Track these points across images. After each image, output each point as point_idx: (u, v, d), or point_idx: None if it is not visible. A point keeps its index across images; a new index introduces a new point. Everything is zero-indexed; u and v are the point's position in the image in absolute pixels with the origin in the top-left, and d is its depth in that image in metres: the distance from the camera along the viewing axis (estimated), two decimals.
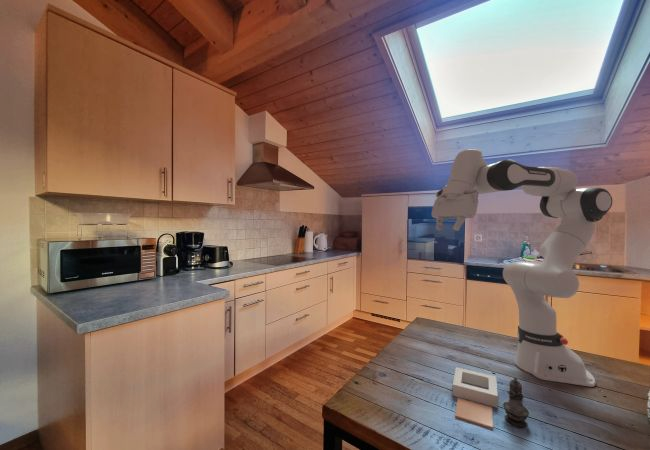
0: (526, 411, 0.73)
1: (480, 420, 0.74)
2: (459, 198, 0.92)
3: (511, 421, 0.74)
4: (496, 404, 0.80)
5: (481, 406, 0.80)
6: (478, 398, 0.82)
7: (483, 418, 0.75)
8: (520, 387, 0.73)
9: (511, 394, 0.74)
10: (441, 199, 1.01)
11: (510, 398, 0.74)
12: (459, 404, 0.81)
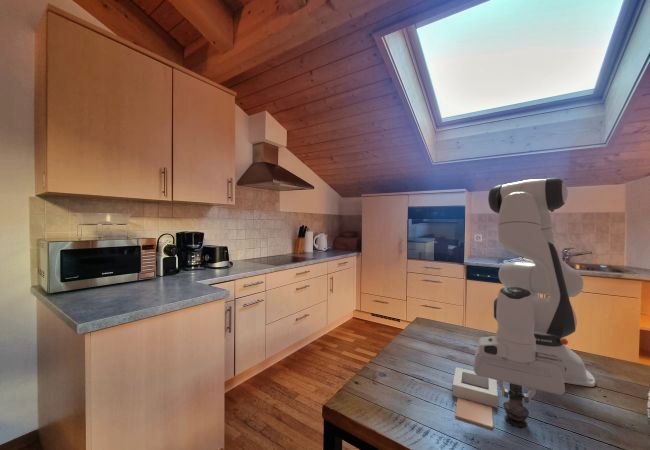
0: (526, 411, 0.73)
1: (480, 420, 0.74)
2: (537, 367, 0.71)
3: (511, 421, 0.74)
4: (496, 404, 0.80)
5: (481, 406, 0.80)
6: (478, 398, 0.82)
7: (483, 418, 0.75)
8: (520, 387, 0.73)
9: (511, 394, 0.74)
10: (495, 358, 0.75)
11: (510, 398, 0.74)
12: (459, 404, 0.81)
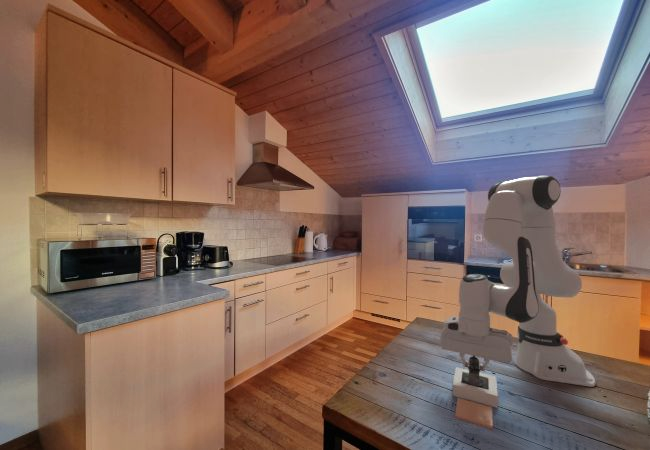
0: (482, 382, 0.86)
1: (480, 420, 0.74)
2: (490, 340, 0.84)
3: None
4: (496, 404, 0.80)
5: (481, 406, 0.80)
6: (478, 398, 0.82)
7: (483, 418, 0.75)
8: (477, 362, 0.87)
9: (470, 368, 0.88)
10: (457, 334, 0.88)
11: (469, 372, 0.88)
12: (459, 404, 0.81)
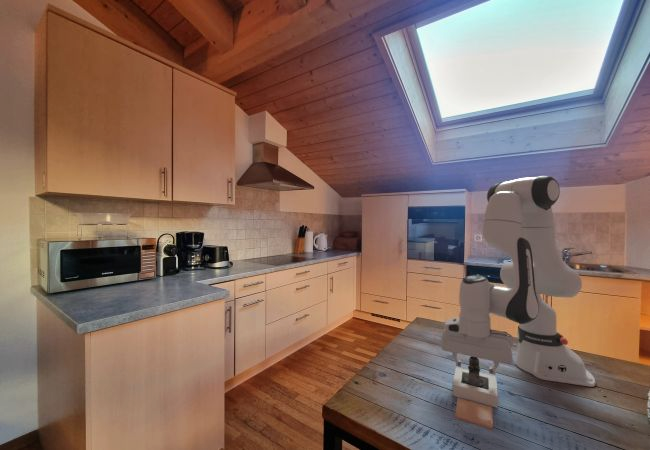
0: (482, 382, 0.86)
1: (480, 420, 0.74)
2: (491, 341, 0.84)
3: None
4: (496, 404, 0.80)
5: (481, 406, 0.80)
6: (478, 398, 0.82)
7: (483, 418, 0.75)
8: (477, 362, 0.87)
9: (470, 368, 0.88)
10: (457, 335, 0.88)
11: (469, 371, 0.88)
12: (459, 404, 0.81)
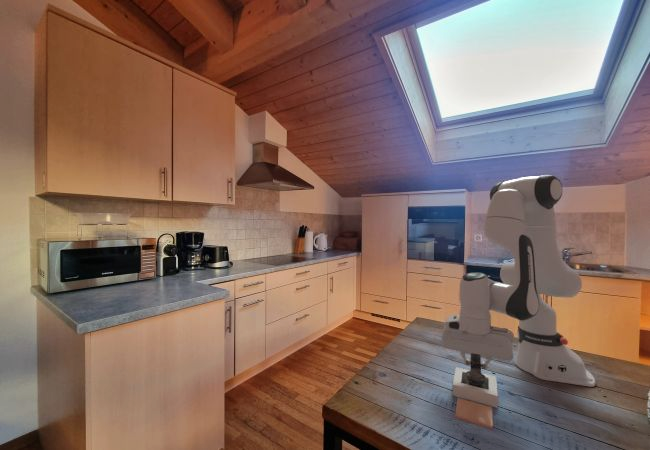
0: (483, 378, 0.86)
1: (480, 420, 0.74)
2: (491, 338, 0.84)
3: None
4: (496, 404, 0.80)
5: (481, 406, 0.80)
6: (478, 398, 0.82)
7: (483, 418, 0.75)
8: (479, 357, 0.87)
9: (471, 364, 0.88)
10: (458, 332, 0.88)
11: (471, 367, 0.88)
12: (459, 404, 0.81)
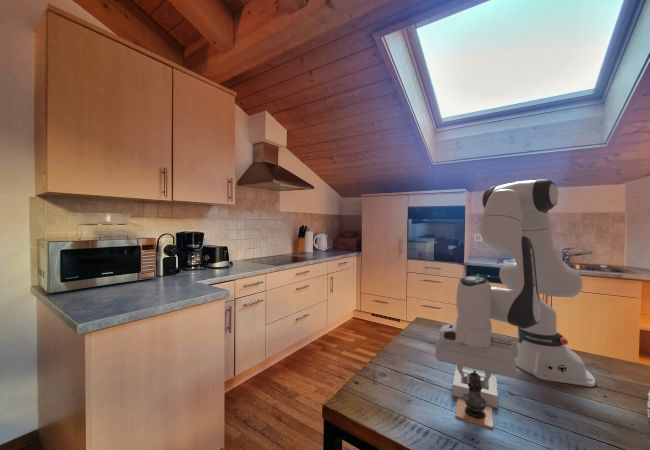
0: (484, 402, 0.76)
1: (480, 420, 0.74)
2: (492, 351, 0.74)
3: (470, 412, 0.77)
4: (496, 404, 0.80)
5: None
6: None
7: None
8: (478, 379, 0.76)
9: (470, 386, 0.77)
10: (454, 344, 0.78)
11: (469, 390, 0.77)
12: (459, 404, 0.81)
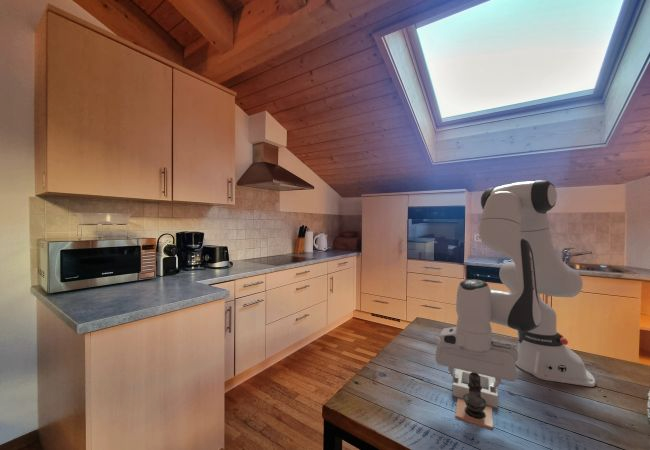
0: (484, 402, 0.76)
1: (480, 420, 0.74)
2: (492, 355, 0.74)
3: (470, 412, 0.77)
4: (496, 404, 0.80)
5: None
6: None
7: None
8: (478, 379, 0.76)
9: (470, 386, 0.77)
10: (454, 348, 0.78)
11: (469, 390, 0.77)
12: (459, 404, 0.81)
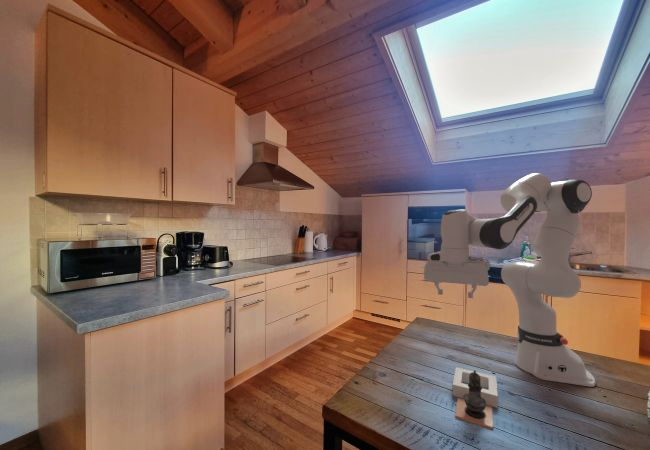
0: (484, 402, 0.76)
1: (480, 420, 0.74)
2: (469, 266, 0.91)
3: (470, 412, 0.77)
4: (496, 404, 0.80)
5: None
6: None
7: None
8: (478, 379, 0.76)
9: (470, 386, 0.77)
10: (439, 264, 0.95)
11: (469, 390, 0.77)
12: (459, 404, 0.81)
